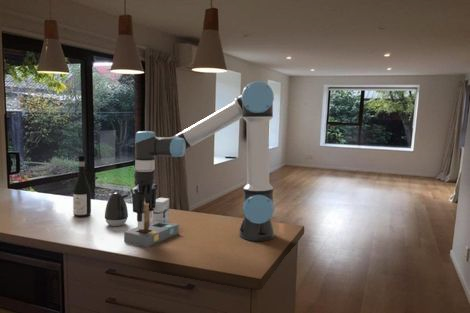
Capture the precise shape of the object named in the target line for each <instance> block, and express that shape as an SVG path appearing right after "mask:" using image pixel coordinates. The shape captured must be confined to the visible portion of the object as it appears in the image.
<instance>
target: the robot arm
mask: <svg viewBox="0 0 470 313" xmlns="http://www.w3.org/2000/svg"><path fill="white" fill-rule="evenodd" d="M274 96H275V95H274V91H273V89H272V87H270V85H269V84H267V83H266V82H264V81H258V80H257V81H256V80H255V81H252V82H249V83H248V84H246V86H244V87H243V90H242V92H241V94H240V95H238V96H237V97H235V98H234V100H233V102H231V103H229V104H227V105H226V106H223V107H222V108H221V109H218V110H217V111H215V112H213V113H212V114H210V115H208V116H207V117H205V118H203V119H201V120H199V121H197V122H196V123H195V124H194V123H193V124H192V125H191V126H188V128H185V129H184V130H181V131H180V132H178V133H176V134H175V135H173V136H168V137H167V136H163V137H161V136H156V133H155V132H154V131H150V130H149V131H147V130H142V131H141V130H139V131H137V132H136V133H135V137H134V138H135V140H134V147H135V148H134V154H135V155H134V161H135V162H134V166H135V167H134V169H135V171H134V179H135V181H136V184H135V187H134V188H131V189H130V192H131V196H132V197H131V198H132V212H133V213H136V221H137V227H138V229H142V230H143V229H144V213H143V207H144V202H148V203H149V227H151V222H152V212H153V211H154V209H153V208H155V204H156V199H157V191H158V190H157V189H158V184H156V183H154V180H155V168H156V167H155V164H156V163H155V157H173V158H177V157H178V158H180V157H184V156H185V154H186V150H188V149H190V148H191V147H193V146H194V145H196V144H198V143H200V142H201V141H204V140H205V139H207V138H209V137H211V136H212V135H214V134H216V133H217V132H219V131H221V130H223V129H225V128H227V127H228V126H230V125H232V124H234V123H236V122H237V121H239V120H241V119H243V120H244V121H245V122H246V181H247V182H246V184H245V185H244V186H243V206H242V212H243V219H242V221H241V224H240V227H239V232H238V236H239V237H240V238H242V239H243V240H247V241H251V242H252V241H253V242H266V241H271V240H273V239H274V237H275V230H274V226H273V224H272V219H271V218H272V217H273V215H274V212H275V206H274V187H273V186H272V185H271V183H270V121H271V120H272V119H273V116H274V114H273V112H274V110H273V107H274V100H275V99H274V98H275V97H274Z"/></svg>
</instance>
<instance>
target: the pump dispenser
mask: <svg viewBox="0 0 470 313" xmlns="http://www.w3.org/2000/svg"><path fill="white" fill-rule="evenodd" d="M125 198H129V194H128V193H126V194H122V193H121V192H117V191H116V192H113V193H112V194H110V196H109V198H108V200H107V203H106V206H105V210H104V219H105V222H106V223H107V225H109V226H111V227H121V226H123V225H125V224H126V222H127V220H128V218H129V213H128V211H129V210H128V207H127V206H128V205H127V202H126V200H125Z"/></svg>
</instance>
